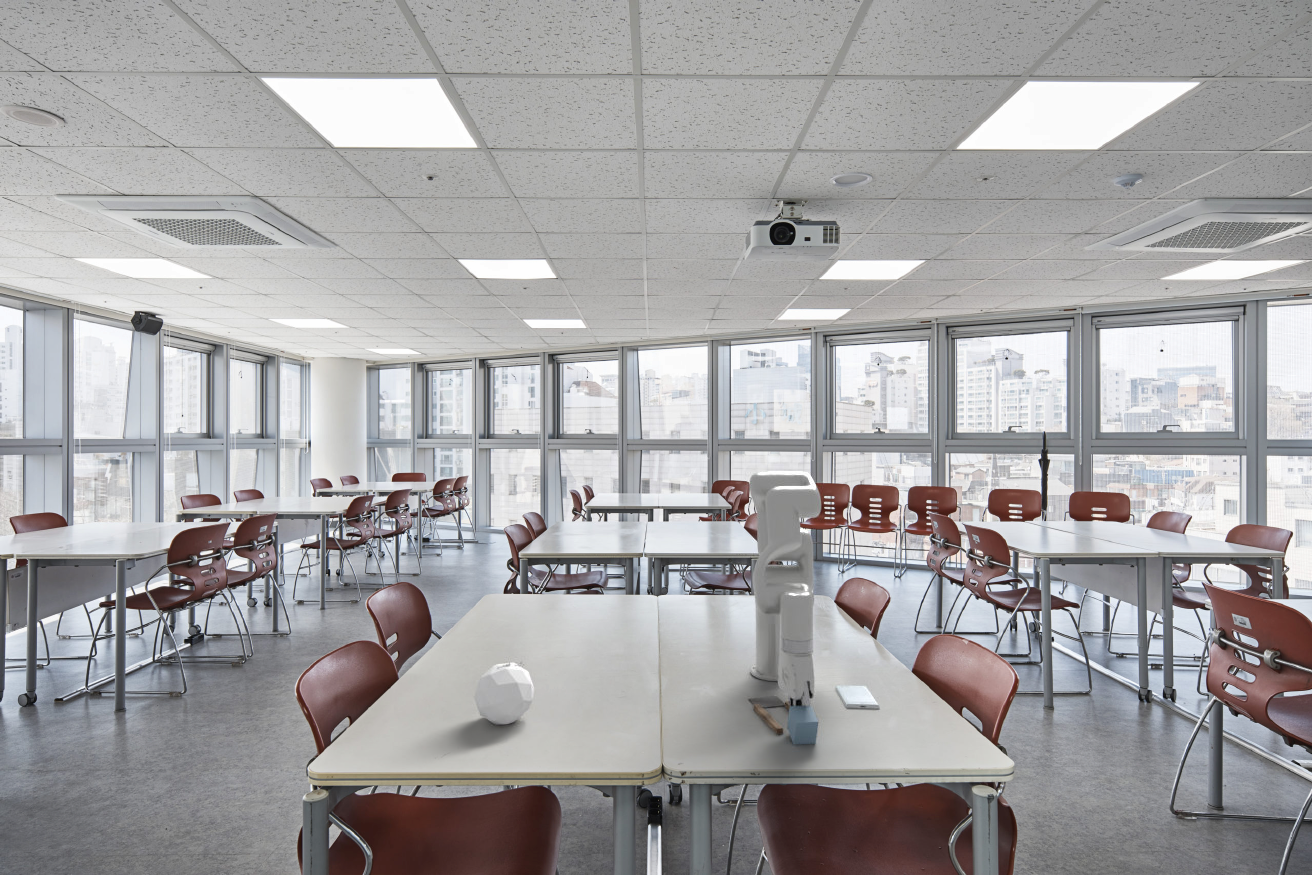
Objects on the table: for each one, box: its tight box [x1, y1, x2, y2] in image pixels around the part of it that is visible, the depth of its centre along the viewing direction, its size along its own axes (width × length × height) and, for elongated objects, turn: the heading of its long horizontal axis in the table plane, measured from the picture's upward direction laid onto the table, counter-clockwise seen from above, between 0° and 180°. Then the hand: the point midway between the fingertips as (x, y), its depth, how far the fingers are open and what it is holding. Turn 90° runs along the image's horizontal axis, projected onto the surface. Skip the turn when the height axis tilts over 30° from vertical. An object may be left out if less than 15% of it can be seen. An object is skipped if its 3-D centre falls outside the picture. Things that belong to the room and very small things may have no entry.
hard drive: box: [835, 685, 880, 710], centre depth 161 cm, size 2×8×12 cm
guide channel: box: [747, 695, 789, 735], centre depth 152 cm, size 20×10×1 cm, turn 13°
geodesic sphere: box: [473, 661, 535, 725], centre depth 149 cm, size 15×14×14 cm
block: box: [786, 704, 820, 746], centre depth 138 cm, size 5×5×6 cm
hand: (797, 724), depth 142 cm, fingers closed
